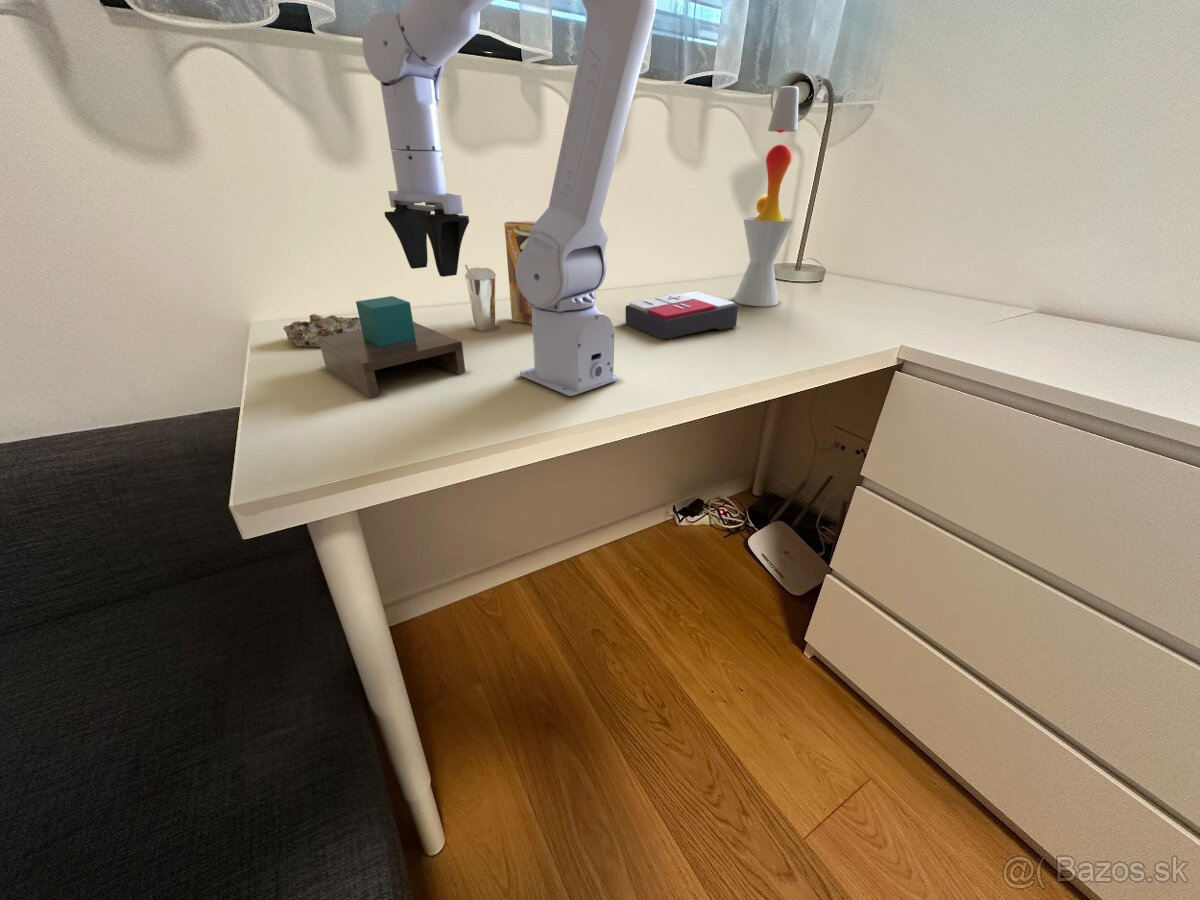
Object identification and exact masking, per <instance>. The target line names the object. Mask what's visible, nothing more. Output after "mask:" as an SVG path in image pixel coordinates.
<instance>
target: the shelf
mask: <svg viewBox="0 0 1200 900" xmlns="http://www.w3.org/2000/svg"><path fill="white" fill-rule="evenodd" d="M413 325H414V331H415V337H416V340H412V341H407V342H403V343H398V344H393V345H388V346H384V347H379V346H377V345H375V344H373V343H371V342H369V341H367V340H365V339H364V338H363V333H362V330H357V331H351V332H346V333H340V334H335V335H330V336H324V337H319V338H318V339H319V343H320V347H319V348H320V350H321V354H322V358H323V362H324V367H325V369H326V370H328V371H329V372H330V373H332V374H333V375H334V376H336V377H338V378H339V379H341V380H342V381H344V382H345V383H346V384H348V385H350V386H351V387H353V388H355V390H357V391H359V392H360V393H362V394H363V395H365V396H366V397H368V398H369V399H373V398H377V397H380V393H379V387H378V384H377V383H378V382H377V379H376V374H375V371H377V370H382V369H385V368H390V367H393V366H398V365H402V364H407V363H411V362H415V361H419V360H420V361H421V360H423V359H426V360H428V361H430V362H432V363H434V364H436V365H438V366H441V367H442V368H445V369H446V370H448V371H451V372H453V373H455V374H456V375H461V374H462V375H463V374H465V373H466V366H465V365H466V363H465V358H464V357H465V356H464V347H463V341H462V340H460V339H457V338H454V337H452V336H449V335H447V334H444V333H442V332H439V331H437V330H435V329H432V328H429V327H427V326H425V325H422V324H419V323H417V322H415V321H413Z"/></svg>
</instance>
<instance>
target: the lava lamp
mask: <svg viewBox="0 0 1200 900" xmlns="http://www.w3.org/2000/svg"><path fill="white" fill-rule="evenodd" d="M799 91H800V89H799V87H798V86H795V85H784V86H781V87H780V88H779V89H778V92H777V97H776V100H775V104H774V107H773V110H772V114H771V117H770V121H769V125H768V128H767V131H768V132H773V133H779V134H782V133H788V132H791V133H793V132H798V126H799V98H800V97H799V94H800V92H799ZM792 160H793V153H792V150H791V148H790V147H789V146H788V145H786V144H777V145H775V146H773V147H772V148H771V149H769V151H768V153H767V154H766V158H765V164H766V172H767V194H763V195H762V196H760V197H759V198H758V199H757V202H756V207H755V208H756V211H757V213H758V215H757V216H750V217H748V216H747V217H743V225H744V232H745V237H746V242H747V249H748V250H747V251H748V255H749V263H748V265H747V268H746V269H745V271H744V274H743V277H742V279H741V281H740V283H739V286H738V287H737V290H736V292H735V293H734V294H735V295H734V296H733V298H732V302H734V303H735V304H738V305H743V306H750V307H773V306H777V305H778V304H779V299H778V292H777V285H776V284H777V283H776V275H775V267H774V266H775V265H774V262H775V259H776V258H777V256H778V254H779V252H780V250H781V248H782V246H783V244H784V242H785V240H786V238H787V236H788V234H789V232H790V230H791V228H792V227H793V224H794V222H795V220H794V219H792V218H787V217H785V218H784V217H783V215H782V213H781V208H780V201H779V199H780V198H779V197H780V190H781V185H782V182H783V180H784V177H785V175H786V173H787V171H788V169H789V167H790V165H791V163H792Z"/></svg>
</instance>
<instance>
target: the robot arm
mask: <svg viewBox="0 0 1200 900" xmlns="http://www.w3.org/2000/svg"><path fill="white" fill-rule="evenodd" d="M492 2H494V0H406V1H405V2H402V3H401V4H400V5H399V6H398V8H397V11H396V12H389V14H384V13H381V12H375V13H373V14H371V15H370V16H369V19H368V21H367V23H366V24H365V27H364V30H363V32H362V52H363V57H364V61H365V64H366V66H367V68H368V70H369V72H370V74H371V75H372V76H373V78H374V79H375V80H377V81H378V82H379V83H380V88H381V96H382V102H383V107H384V114H385V121H386V127H387V133H388V137H389V138H388V139H389V145H390V147H389V148H390V150H391V153H390V154H391V159H392V165H393V172H394V177H395V185H396V190H388V191H387V192H388V199H389V205H390V208H394V209H393V210H392V211H391V210H390V211H384V217H385V219H386V220H387V222H388V223H389V224H390V225H391V228H392V229H393V231H394V233H395V234H396V236H397V238H398V240H399V242H400V245H401V248H402V249H403V252H404V255H405V258H406V260H407V264H408V265H409V267H410V269H412V270H413V269H414V270H415V269H423V268H427V267H428V260H429V259H428V239H429V242H430V245H431V249H432V252H433V253H432V254H433V257H434V262H435V267H436V269H437V272H438V275H439V277H443V278H444V277H451V276H457V275H458V268H459V259H460V252H461V246H462V242H463V238H464V236H465V232H466V230H467V227H468V225H469V223H470V216H469V215H465V214H464V209H463V208H464V207H463V199H462V195H459V194H453V193H449V192H447V186H446V185H447V183H446V178H445V167H444V160H443V152H442V142H441V135H440V133H441V132H440V126H439V118H438V108H437V107H438V106H439V101H441V98H440V83H441V80H442V78H443V74H444V64H445V63H446V62H448V60H449V59H450V58H452V57H453V56H454V55H455V54H456V53H457V52H458V51H459V50H460V49H462V48H463V46H465V45H466V44H467V43H468V42H469V41H470V40H472V38H474V37H475V36H476V35H477V34H478V32H479V31H480V27H481V26H480V24H481V11H482V10H483V9H485V8H486V7H487V6H488V5H490V4H491V3H492ZM581 3H582V5H583V7H584V9H585V12H586V23H585V26H584V27H585V28H584V31H583V32H584V33H583V38H582V42H581V48H580V52H579V58H578V61H577V62H578V63H577V66H576V72H575V77H574V81H573V87H572V90H571V97H570V100H569V105H568V111H567V115H566V121H565V126H564V129H563V135H562V140H561V144H560V149H559V155H558V159H557V165H556V168H555V173H554V179H553V184H552V189H551V192H550V193H551V194H550V197H549V203H548V207H547V208H546V209H545V211H544V212H543V213H542V214H541V216H540V217H539V218H538V219H536V220H535V221H536V223H535V224H534V225H533V226H532V227H531V229H530V234H529V238H528V242H527V244H526V246H525V248H524V249H523V251H522V252H521V253H520V255H519V257H518V259H517V262H516V267H515V274H516V281H517V284H518V287H519V289H520V291H521V293H522V294H523V296H524V297H525V298H526V299H527V300H528V306H529V307H532V324H531V325H532V345H533V362H534V363H533V364H534V367H530V368H528V369H523V370H520V371H519V376H521V377H522V378H525V379H526V380H530V381H532V382H534V383H537V384H538V385H542V386H544V387H546V388H549V389H551V390H553V391H556V392H558V393H560V394H563V395H564V396H567V397H574V396H577V395H580V394H582V393H585V392H588V391H591V390H594V389H597V388H599V387H602V386H605V385H607V384H610V383H613V382H616V381H618V380H619V376H618V375H617V374H614V364H615V360H614V359H615V327H614V325H613V322H612V320H611V319H610V318H609V316H608V315H606V314H604V313H602V312H600V310H598V308H597V307H596V304H595V301H596V300H597V290H598V289H599V288H600V287H601V286H602V285H603V283H604V281H605V278H606V276H607V275H606V274H607V260H606V249H607V244H608V240H609V236H608V233H607V232H606V230H605V228H604V226H603V225H602V223H601V218H602V214H603V210H604V207H605V203H606V199H607V195H608V192H609V189H610V184H611V181H612V177H613V173H614V169H615V166H616V162H617V158H618V154H619V151H620V147H621V143H622V139H623V136H624V132H625V128H626V125H627V121H628V117H629V114H630V109H631V105H632V102H633V98H634V94H635V90H636V87H637V83H638V79H639V76H640V72H641V68H642V64H643V60H644V57H645V53H646V48H647V46H648V42H649V38H650V34H651V30H652V28H653V27H652V26H653V24H654V19H655V14H656V9H657V0H581ZM423 203H424V204H423ZM432 212H434V213H432ZM463 214H464V215H463Z"/></svg>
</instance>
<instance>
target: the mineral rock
mask: <svg viewBox="0 0 1200 900" xmlns="http://www.w3.org/2000/svg"><path fill="white" fill-rule="evenodd" d="M283 330H284V332H285V334H286V337H287V340H288V341H290V342H292V343H293V344H294V346H297V347H305V348H309V347H310V348H314V347H315V348H321V347H320V343H319V339H318V338H319V337H324V336H330V335H335V334H340V333H346V332H351V331H357V330H362V328H361V324H360V319H359V316H358V317H357V316H356V317H342V316H339V317H338V316H336V315H329V316H324V317H323V316H322V315H320V314H315V313H313V314H309V321H299V320H298V321H293V322H291V323H290V324H289V325H284V326H283Z"/></svg>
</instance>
